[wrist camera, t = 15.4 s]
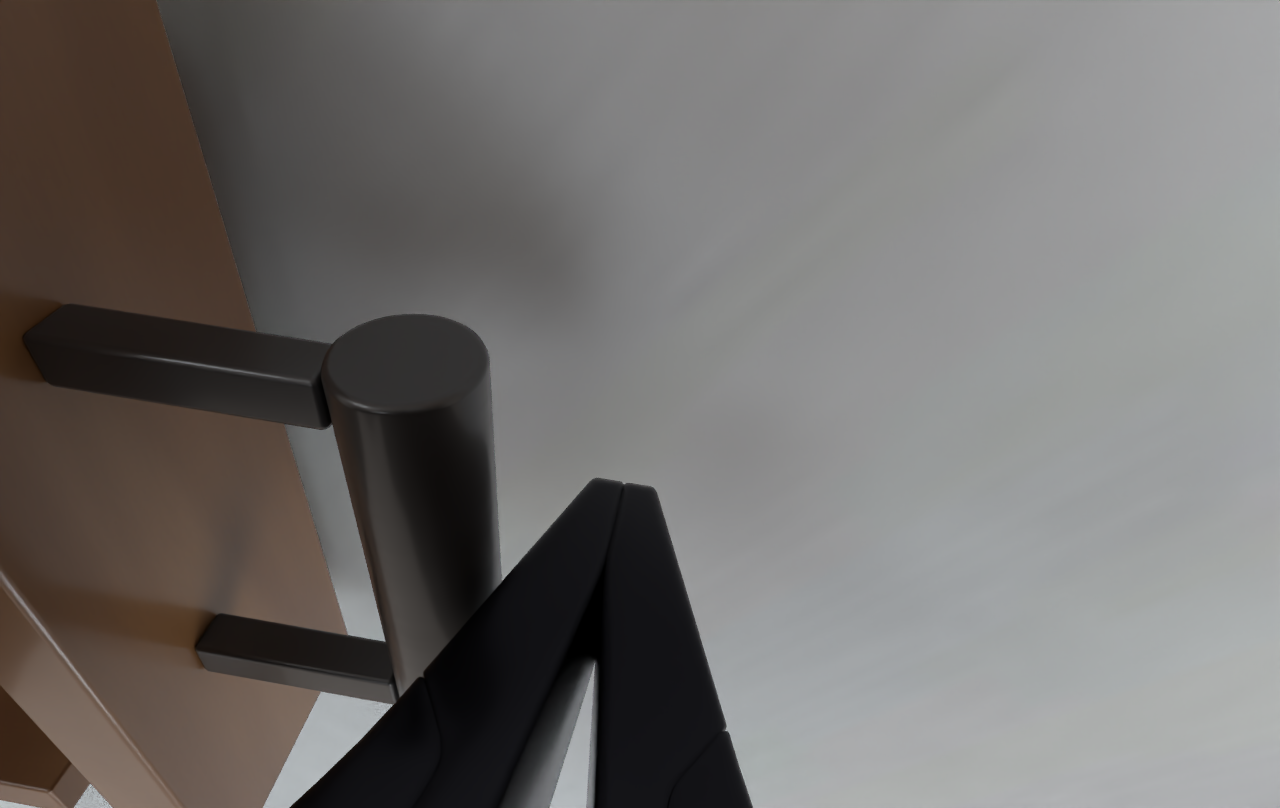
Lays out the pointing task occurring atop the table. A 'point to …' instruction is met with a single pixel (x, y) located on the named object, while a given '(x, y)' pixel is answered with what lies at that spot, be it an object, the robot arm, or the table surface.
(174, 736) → the drawer
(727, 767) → the robot arm
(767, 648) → the table surface
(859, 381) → the table surface
